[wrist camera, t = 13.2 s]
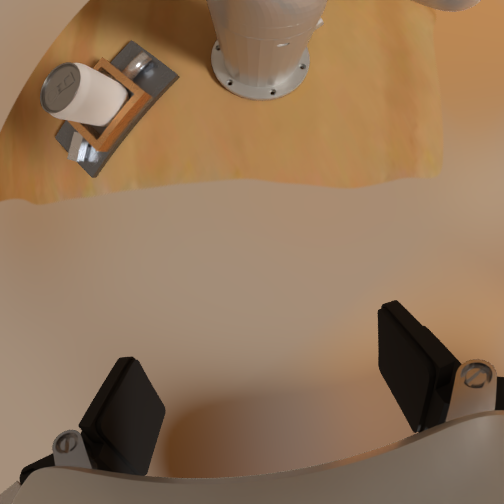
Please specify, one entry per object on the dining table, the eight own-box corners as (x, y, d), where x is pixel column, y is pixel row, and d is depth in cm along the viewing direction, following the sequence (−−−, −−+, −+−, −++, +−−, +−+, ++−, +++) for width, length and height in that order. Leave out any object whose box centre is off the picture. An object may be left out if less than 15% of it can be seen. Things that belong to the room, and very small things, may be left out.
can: (84, 101, 30) (32, 87, 19) (120, 74, 30) (74, 47, 18) (100, 136, 32) (46, 130, 21) (137, 109, 31) (91, 89, 20)
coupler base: (134, 43, 29) (123, 32, 25) (179, 77, 31) (171, 67, 27) (59, 138, 33) (42, 137, 29) (96, 177, 35) (80, 179, 31)
